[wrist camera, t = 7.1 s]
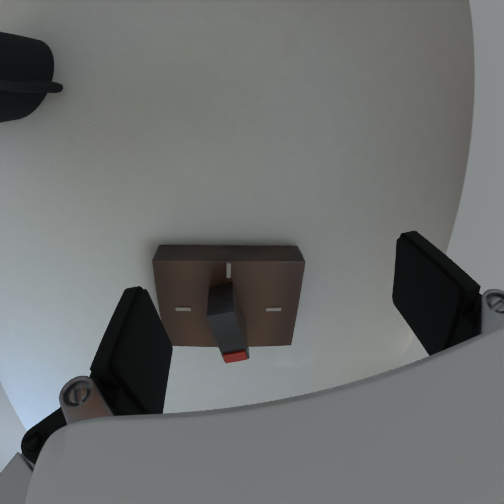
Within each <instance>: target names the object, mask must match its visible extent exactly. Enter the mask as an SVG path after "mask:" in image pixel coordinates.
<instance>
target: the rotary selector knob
mask: <svg viewBox="0 0 504 504" xmlns="http://www.w3.org/2000/svg"><path fill="white" fill-rule="evenodd" d="M207 319H208V322H209V324H210V327H211V329H212V332H213V335H214V337H215V339H216V342H217V344H218V347H219V349H220V352H221V354H222V357H223V359H224V361H225V363H230V362H236V361H242V360H247V359H249V348H248V338H247V328H246V325H245V322H244V318H243V315H242V312H241V308H240V305H239V302H238V298H237V295H236V291H235V288H234V284H233V283H230V284H225V285H220V286H215V287H210V288H209V291H208V303H207Z"/></svg>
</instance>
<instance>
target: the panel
mask: <svg viewBox="0 0 504 504" xmlns="http://www.w3.org/2000/svg"><path fill="white" fill-rule="evenodd" d="M152 261H153V269H154V277H155V284H156V291H157V298H158V304H159V310H160V316H161V322H162V324H163V326H164V328H165V330H166V332H167V334H168V336H169V339H170V341H171V343H172V346H197V347H218V344H217V342H216V339H215V337H214V335H213V332H212V329H211V327H210V324H209V322H208V319H207V303H208V291H209V288H210V287H215V286H220V285H225V284H230V283H233V284H234V288H235V291H236V295H237V298H238V302H239V305H240V308H241V312H242V315H243V318H244V322H245V325H246V328H247V338H248V347H255V346H284V345H291V343H292V338H293V332H294V327H295V321H296V315H297V310H298V304H299V298H300V292H301V285H302V279H303V273H304V266H305V260H304V258H303V256H302V254H301V252H300V250H299V248H298V246H207V245H159V247H158V249H157V251H156V254H155V256H154V258H153V260H152Z"/></svg>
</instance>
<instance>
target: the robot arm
mask: <svg viewBox="0 0 504 504" xmlns="http://www.w3.org/2000/svg"><path fill="white" fill-rule="evenodd" d="M479 291H480V285H478V284H477V283H476V282H475V281H474V280H473V279H472V278H471V277H470V276H469V275H468V274H467V273H465V272H464V271H463V270H462V269H461V268H460V267H459V266H457V265H456V264H455V263H454V262H453V261H452V260H451V259H449V258H448V257H447V256H446V255H445V254H444V253H443V252H441V251H440V250H439V249H438V248H437V247H435V246H434V245H433V244H432V243H430V242H429V241H428V240H427V239H425V238H424V237H423V236H422V235H420V234H419V233H418V232H417V231H410V232H406V233H402V234H401V235H400V238H398V239H397V244H396V260H395V273H394V284H393V294H392V299H393V303H394V305H395V306H396V308H397V309H398V311H399V312H400V313H401V315H402V316H403V318H404V319H405V320H406V322H407V323H408V325H409V326H410V328H411V329H412V330H413V332H414V333H415V335H416V336H417V338H418V339H419V341H420V342H421V344H422V345H423V347H424V348H425V350H426V351H427V353H428V354H429V356H428V357H426V358H423V359H421V360H418V361H415V362H413V363H410V364H407V365H405V366H402V367H399V368H396V369H393V370H390V371H387V372H384V373H381V374H378V375H375V376H372V377H368V378H365V379H362V380H359V381H355V382H352V383H348V384H345V385H341V386H337V387H333V388H329V389H326V390H321V391H317V392H313V393H309V394H304V395H300V396H295V397H290V398H285V399H280V400H275V401H269V402H264V403H258V404H252V405H245V406H238V407H231V408H223V409H214V410H205V411H194V412H181V413H168V414H163V408H164V401H165V394H166V388H167V381H168V375H169V369H170V363H171V357H172V351H173V348H172V343H171V341H170V339H169V336H168V334H167V332H166V330H165V328H164V326H163V324H162V322H161V320H160V317H159V315H158V313H157V311H156V309H155V307H154V304H153V302H152V300H151V297H150V295H149V293H148V291H147V290H146V289H143V288H142V287H140V286H138V287H132V288H127V289H125V290H124V293H123V295H122V297H121V299H120V301H119V303H118V305H117V307H116V309H115V312H114V314H113V316H112V318H111V320H110V322H109V325H108V327H107V329H106V331H105V334H104V336H103V338H102V341H101V343H100V345H99V348H98V350H97V352H96V355H95V357H94V360H93V362H92V365H91V367H90V370H91V371H92V372H91V374H90V377H88V376H78V377H75V378H73V379H71V380H70V381H69V382H67V383H66V384H65V385H64V387H63V388H62V390H61V392H60V396H59V402H60V406H61V407H60V408H59V409H57V410H56V411H55V412H53V413H52V414H50V415H49V416H48V417H46V418H45V419H43V420H42V421H41V422H39V423H38V424H36V425H35V426H33V427H32V428H31V429H29V430H28V431H27V432H26V434H25V435H24V437H23V439H22V442H21V450H22V454H20V453H19V452H17V454H16V455H15V456H14V457H13V458H12V460H11V461H10V462H9V463H8V465H7V466H6V467H5V468H4V470H3V471H2V472H1V473H0V504H504V291H502V290H499V289H490V290H487V291H485V292H484V293H483V295H481V294H480V293H479Z"/></svg>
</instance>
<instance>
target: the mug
mask: <svg viewBox="0 0 504 504" xmlns="http://www.w3.org/2000/svg"><path fill="white" fill-rule="evenodd" d="M53 70H54V61H53V55H52V52H51V50H50V48H49V47H48V46H47V45H46V44H45V43H44V42H42V41H40V40H36V39H32V38H28V37H23V36H19V35H14V34H9V33H3V32H0V122H5V121H10V120H16V119H21V118H24V117H26V116H28V115H29V114H31V113H32V112H33V111H34V110H35V109H36V108H37V107H38V106H39V105H40V103H41V102H42V100H43V99H44V97H45V96H46V94H47V93H57V92H60V91H62V89H63V86H62V85H61V84H59V83H55V82H51V81H52V77H53Z"/></svg>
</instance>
